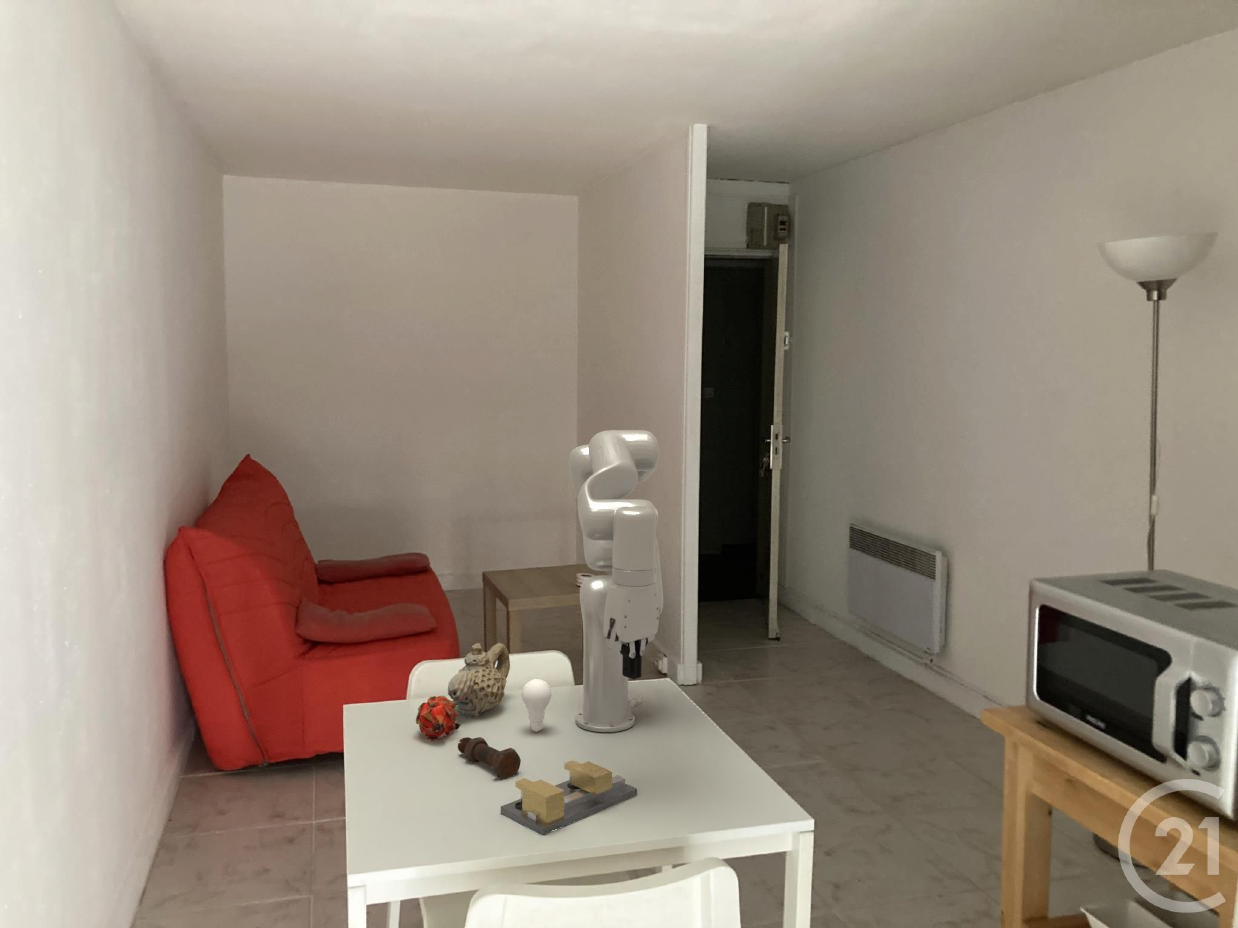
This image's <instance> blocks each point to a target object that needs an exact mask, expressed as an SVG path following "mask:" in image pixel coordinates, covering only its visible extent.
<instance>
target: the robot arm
mask: <svg viewBox="0 0 1238 928" xmlns="http://www.w3.org/2000/svg"><path fill="white" fill-rule="evenodd" d="M660 450H661V449H660V445H659V441H658V439H657V437H656V436H655V435H654V434H653V433H652V432H650V431H649V430H645V429H644V430H643V429H610V430H608V429H607V430H602V431H600V432H598V433H596V434H594V435H593V436H592V438H591V439H590V441H589V443H588V444H583V445H580V446H577V447H575V448H574V449H572V450H571V452H570V454H569V458H568V471H569V478H570V482H571V486H572V488H573V491H574V494H575V497H576V499H577V514H578V520H579V524H580V528H581V531H582V542H583V555H584V560H585V564H586V565H587V567H589V569H591V570H593V571H598V572H599V571H601V572H611V571H612V573H611V574H599V575H595V576H590V577H589V578H587V579H585V580H584V581H583V582H582V583H581V585H580V588H579V603H580V605H579V606H580V610H581V617H582V634H583V636H582V637H583V643H582V644H583V645H582V646H583V652H582V653H583V657H582V658H583V661H582V662H583V665H582V667H583V669H582V670H583V671H582V673H583V676H582V684H583V685H582V710H581V711H579V712H577V714H576V715H575V725H577V726H578V727H579V728H581V729H583V730H585V731H590V732H595V733H616V732H622V731H624V730H625V731H626V730H628V729H630V728H631V727H633V726H634V725H635V722H636V716H635V715H634V713H632V710H633V709H634V708H636V707H640V706H641V705H643V703H644V701H643V697H641V696H640V695H638V696H635V697H632V698H630V696H629V679H631V680H637V679H641V678H642V660H643V659H642V656H644V654H645V650H646V647H647V645H648V643H650V642H652V641H653V640H655V639H656V634H657V633H658V631H659V623H660V622H659V621H660V615H661V614H662V612H663V608H664V590H663V579H662V571H661V568H662V567H661V559H660V558H661V557H660V549H659V542H658V538H657V536H656V535H657V534H656V532H657V530H658V526H659V512H658V509H657V508H656V507H655V505H654V504H653V502H651V501H650V500H648V499H641V498H639V499H636V498H635V499H625V498H626V497H627V496H629V495H630V494H631V493H632V492H634V490H635V489H636V487H637V486H638V484H641V483H643V482H646V481H647V480H648V479H649V478H650V476H652V474H654V472H655V471H656V470H657V468H658V465H659V464H660V463H659V462H660V458H661V457H660V456H661V451H660Z"/></svg>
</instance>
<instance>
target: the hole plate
mask: <svg viewBox="0 0 1238 928" xmlns="http://www.w3.org/2000/svg"><path fill="white" fill-rule="evenodd" d="M515 788H517V789H519V790H520V798H519V799H517V800H514V801H511V802H509V803H506V804H503V805H501V806H500V814H501V815H503V816H505V817H507V818H509V819H511V820H513V821H515V822H517V823H518V822H519V824H520V823H521V825H522V824H523V826H524V825H525V827H526V826H527V827H526V828H528V827H529V829H530V830H532V829H533V830H532V831H534V832H536V833H538V834H540V833H541V834H540V835H542V836H545V835H547V834H546V833H548V834H550V833H552V832H553V831H552V830H555V829H557V830H559V829H561V828H560V827H562V828H564V827H566V826H568V825H567V824H569V823H571V824H573V823H575V822H574V821H576V822H578V821H580V820H582V819H581V818H583V819H585V818H587V817H590V816H592V815H594V814H596V812H597V813H599V812H601V811H603V810H605V809H608V808H610V807H612V806H615V805H617V804H619V803H622V802H624V801H626V800H627V801H628V800H629V799H631V798H634V797H636V796H638V788H637V787H634V786H633V785H631V784H628V783H626V778H625V777H622V776H621V775H615V776H612V788H611V789H609V790H606V791H604V792H601V793H599V794H596V795H595V794H592V793H590V792H588V791H586V790H583V789H581V788H579V787H577V786H574V785H571V784H569V779H568V780H565V781H563V782H561V783H557V784H555V785H554V784H552V783H549V782H547V781H545V780H543V779H538V780H535V781H532V780H530V779H527V778H526V777H523V778H520V779H519V780H516V781H515ZM579 819H580V820H579ZM577 820H578V821H577ZM572 822H573V823H572ZM565 825H566V826H565ZM569 825H570V824H569ZM563 826H564V827H563ZM558 828H559V829H558ZM551 831H552V832H551ZM555 831H556V830H555ZM549 832H550V833H549Z"/></svg>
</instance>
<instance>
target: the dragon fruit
mask: <svg viewBox="0 0 1238 928" xmlns="http://www.w3.org/2000/svg"><path fill="white" fill-rule="evenodd" d="M456 707H457V704H456V703H455V702H454V701H453V700H450V699H449V698H448V697H447V696H446V695H439V696H429V697H428V699H427V700H426V702H422V703H421V704H420V705H419V706H418V708H417V710H418V712H417V715H416V718H415V724H416V725H418V728H419V732H421V733H424V736H425V737H426V738H427V740H429V741H431V742H435V741H436V740H438V739H441V738H445V737H446V736H449V735H451V734H452V733H453V732H454V731H457V730H459V729H460V726H461V725H462V723H461V722H458V720H459V712H458V711H457V710H456Z"/></svg>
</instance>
